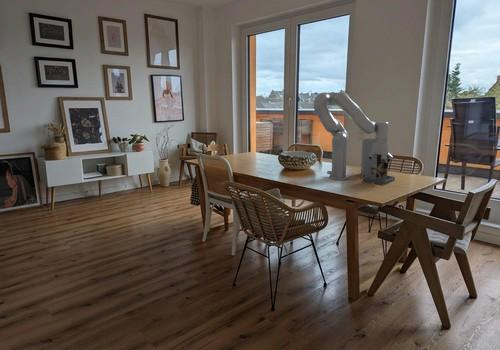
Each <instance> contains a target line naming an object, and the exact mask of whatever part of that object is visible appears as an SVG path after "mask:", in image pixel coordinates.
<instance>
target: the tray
mask: <svg viewBox="0 0 500 350" xmlns="http://www.w3.org/2000/svg"><path fill="white" fill-rule="evenodd" d="M395 179H396V176H394V175H393V176H392V175H387V178H386V179H378V180H377V179H373V178H370V175H369V176H363V177H362V182H365V183H371V184H376V185H383V186H385V185H387V184H390V183H393V182H394V181H396V180H395Z"/></svg>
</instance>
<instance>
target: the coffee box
mask: <svg viewBox="0 0 500 350" xmlns="http://www.w3.org/2000/svg"><path fill="white" fill-rule="evenodd" d="M387 158H388V159H389V158H390V157H388V155H387ZM384 165H385V160H384V159H382V155H378V154H372V159H371V171H370V178H373V179H377V180H378V179H386V178H387V176H388V173H389V172H388V171H389V167H388V168H387V169H384Z"/></svg>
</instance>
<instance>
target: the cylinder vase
mask: <svg viewBox="0 0 500 350" xmlns="http://www.w3.org/2000/svg"><path fill="white" fill-rule="evenodd" d="M373 139H374V138H363V139H362V140H361V141H362V142H361V143H362V144H361V163H360V174H361V175H362V176H363V177H366V176H369V175H370V171H371V160H370V159H369V157H368V154H369V153H371V152H372V147H373V143H375V141H373Z"/></svg>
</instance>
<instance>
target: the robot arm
mask: <svg viewBox="0 0 500 350" xmlns="http://www.w3.org/2000/svg"><path fill="white" fill-rule="evenodd" d="M327 106H338V107H339V109H341V110H342V111H343V113H345V114H346V115H347V116H348V117H349V119H351V120H352V122H354V124H355V125H356V126H357V127H358V128H359V129H360V130H361V131H362V132H363V133H364V134H367V135H370V134H372V133H374V135H375V136H374V138H372V139H373V141H375V143H373V147H372V152H371V153H369V154H368V157H369V159H370V160H371V159H372V154H378V155H382V159H384V160H385V165H384V169H387V168H388V169H389V163H390V162H391V161H392V160H393V159H394V156H393V155H391V153H390V147H389V143H388V138H389V137H388V136H389V127H390V126H389V125H390V124H389V122H388V121H371V120H370V119H369V118H368V117H367V116H366V115H365V114H364V112H363V111H362V109H361V108H360V106H358V104H357V103H355V102H354V101H353V100H352V99H351V98H350V97H349V94H348V93H346V92H344V91H343V92H342V91H341V92H320V93H318V94H317V95H316V97H315V99H314V100H313V111H314V112H315V114H316V116H317V118H318V120H319V122H321V124H322V126H323V127H324V128H323V129H325V131H326V132H327V133H330V134H331V136H332V140H331V149H332V150H331V170H327V171H326V174H327V175H329V176H328V178H329V179H330V180H335V181H343V180H348V179H349V176H348V175H347V155H348V153H347V152H348V147H347V146H348V145H347V144H348V141H349V140H350V139H349V138H350V137H349V133H348V132H347V130H346V129H345V127H344V126H343V124H342V122H341V121H340V120H339V119H338V118H337V117H334V115H333V114H332V112H331V110H329V108H328V107H327ZM387 155H388V157H389V159H388V158H387Z"/></svg>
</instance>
